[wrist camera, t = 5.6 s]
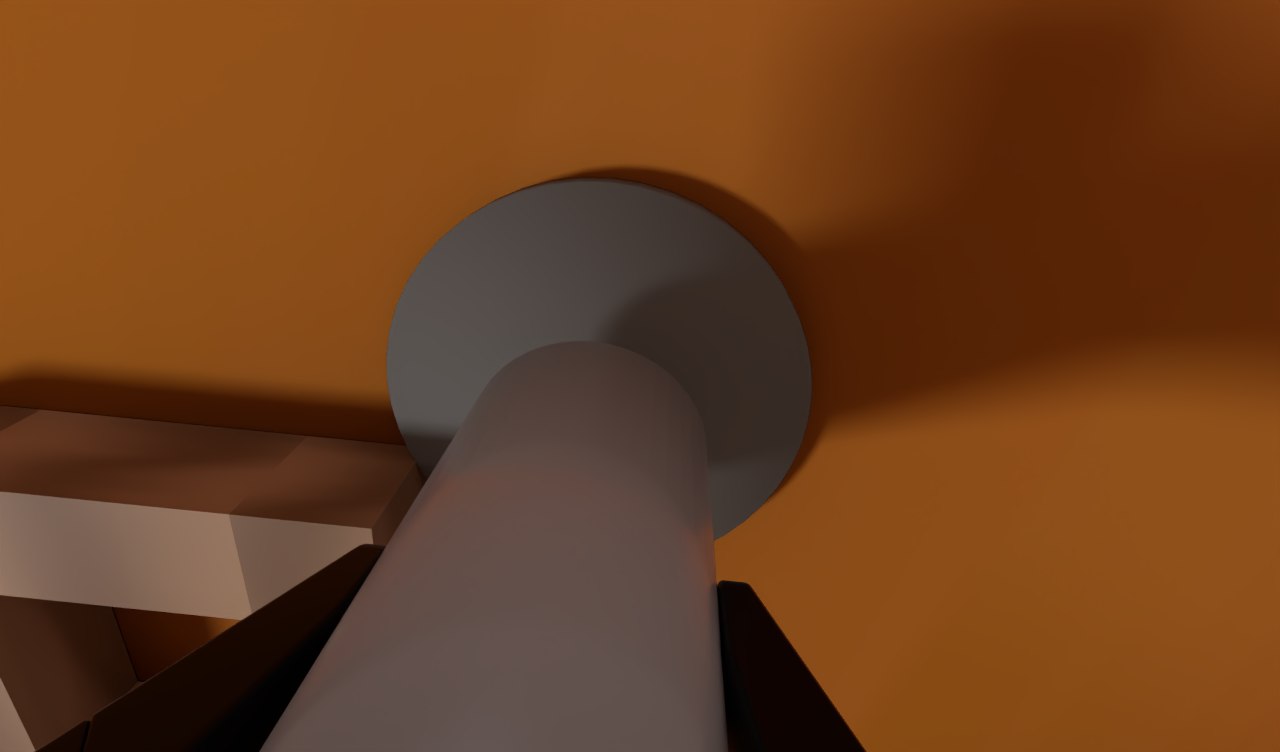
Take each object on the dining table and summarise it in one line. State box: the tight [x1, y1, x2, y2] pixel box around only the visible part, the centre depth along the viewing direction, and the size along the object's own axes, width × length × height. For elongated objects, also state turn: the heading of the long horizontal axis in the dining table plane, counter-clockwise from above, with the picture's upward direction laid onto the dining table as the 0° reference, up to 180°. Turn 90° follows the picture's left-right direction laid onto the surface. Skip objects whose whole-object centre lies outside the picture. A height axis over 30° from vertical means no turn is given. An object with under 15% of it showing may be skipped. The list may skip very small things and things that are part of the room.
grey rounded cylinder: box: [259, 341, 728, 752], centre depth 8 cm, size 4×4×9 cm
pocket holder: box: [0, 406, 428, 752], centre depth 17 cm, size 12×12×3 cm
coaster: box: [387, 177, 812, 540], centre depth 14 cm, size 9×9×1 cm
